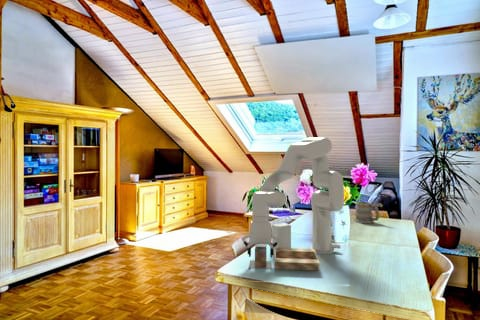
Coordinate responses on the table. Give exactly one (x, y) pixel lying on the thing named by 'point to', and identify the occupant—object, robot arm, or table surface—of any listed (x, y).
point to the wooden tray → (295, 259)
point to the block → (260, 256)
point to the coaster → (252, 265)
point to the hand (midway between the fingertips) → (260, 256)
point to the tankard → (366, 212)
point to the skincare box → (282, 235)
